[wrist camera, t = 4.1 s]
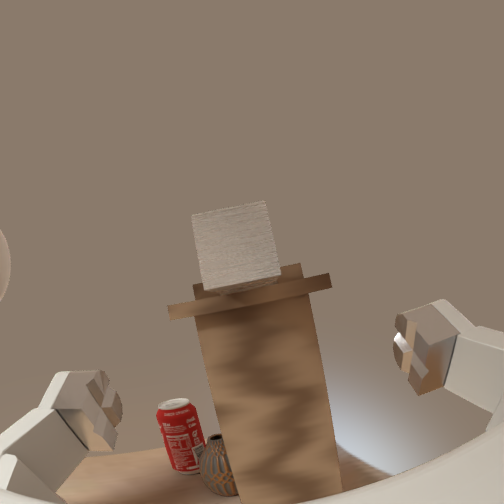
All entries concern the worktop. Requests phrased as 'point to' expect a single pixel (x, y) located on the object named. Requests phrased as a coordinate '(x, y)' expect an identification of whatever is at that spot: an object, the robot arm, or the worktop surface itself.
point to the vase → (217, 467)
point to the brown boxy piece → (269, 387)
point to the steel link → (236, 248)
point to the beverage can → (181, 434)
